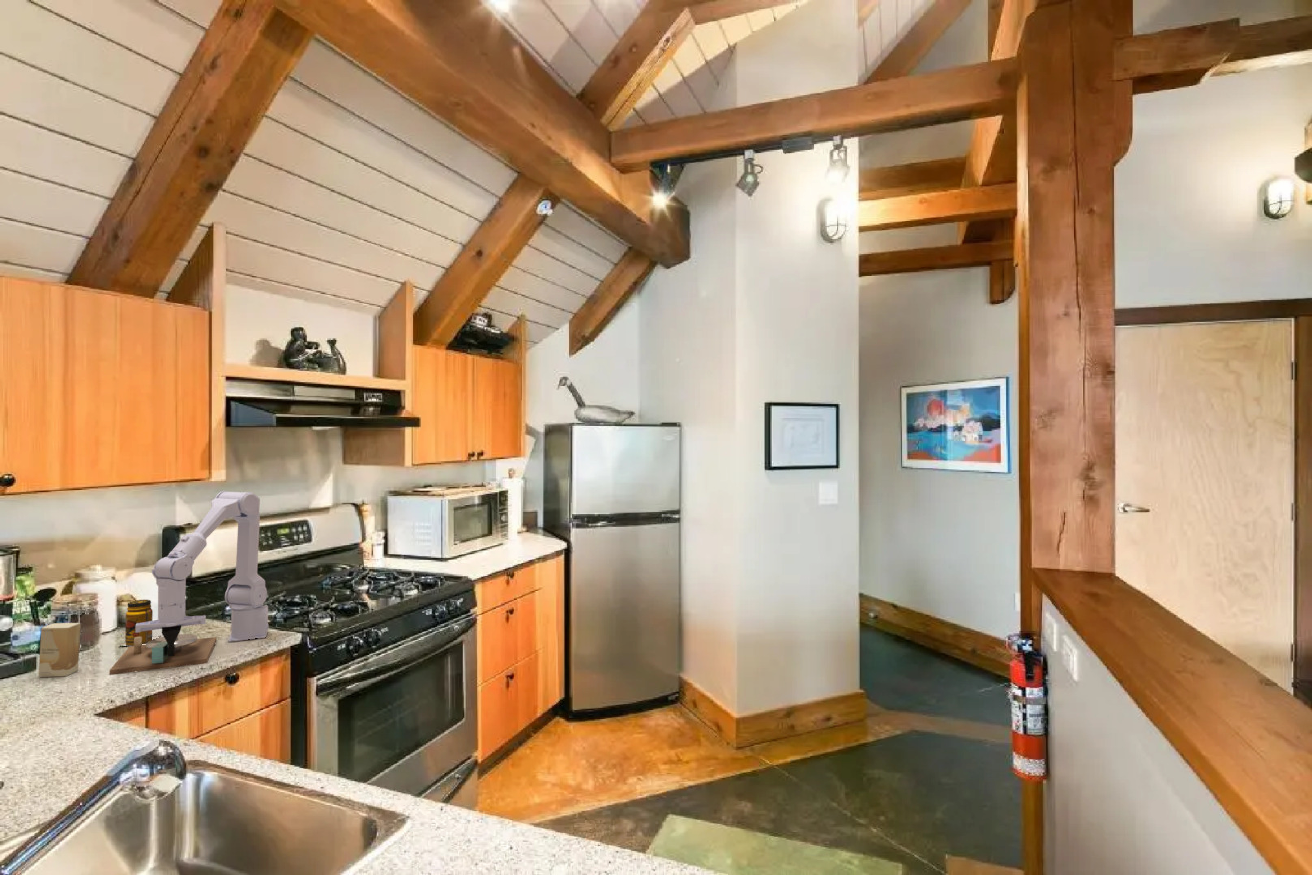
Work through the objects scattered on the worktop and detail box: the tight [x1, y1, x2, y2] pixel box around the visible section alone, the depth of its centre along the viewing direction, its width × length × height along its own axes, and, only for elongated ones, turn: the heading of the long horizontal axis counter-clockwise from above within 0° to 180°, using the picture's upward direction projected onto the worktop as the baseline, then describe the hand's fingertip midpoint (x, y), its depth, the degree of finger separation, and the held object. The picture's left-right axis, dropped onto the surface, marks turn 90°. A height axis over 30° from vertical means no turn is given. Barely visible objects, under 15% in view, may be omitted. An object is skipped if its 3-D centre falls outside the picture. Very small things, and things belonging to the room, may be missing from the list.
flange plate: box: [146, 633, 198, 663], centre depth 171 cm, size 16×11×4 cm
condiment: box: [124, 599, 162, 646], centre depth 184 cm, size 7×8×12 cm
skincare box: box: [38, 622, 82, 678], centre depth 159 cm, size 6×4×12 cm
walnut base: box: [109, 636, 218, 676], centre depth 172 cm, size 20×20×6 cm
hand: (171, 655), depth 167 cm, fingers closed
